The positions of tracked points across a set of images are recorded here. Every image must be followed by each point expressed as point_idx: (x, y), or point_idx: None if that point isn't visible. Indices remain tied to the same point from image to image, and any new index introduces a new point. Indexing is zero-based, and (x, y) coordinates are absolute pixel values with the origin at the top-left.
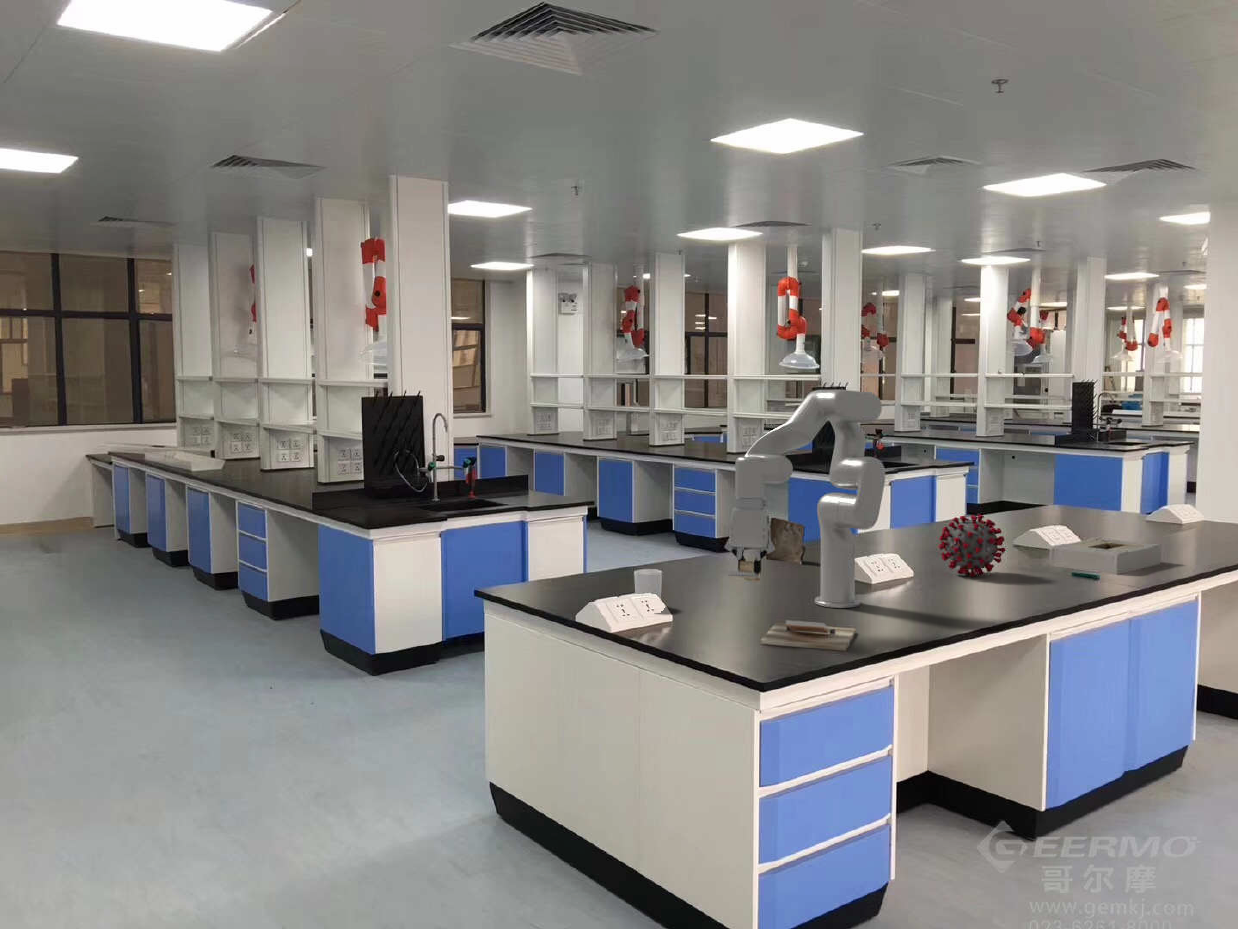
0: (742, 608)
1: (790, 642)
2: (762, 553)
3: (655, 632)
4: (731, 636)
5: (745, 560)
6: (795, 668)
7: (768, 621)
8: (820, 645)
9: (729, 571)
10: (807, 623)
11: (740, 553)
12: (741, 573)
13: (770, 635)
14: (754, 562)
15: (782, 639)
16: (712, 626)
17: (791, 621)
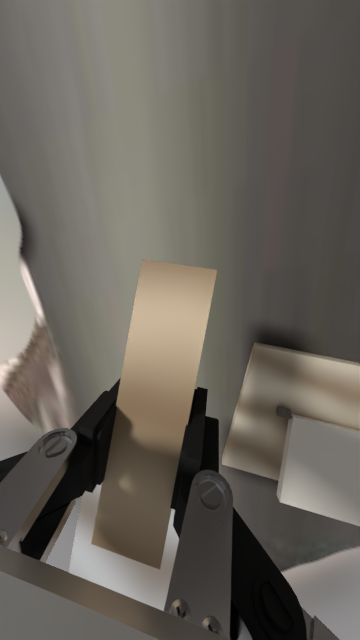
0: (159, 141)
1: (276, 479)
2: (234, 618)
3: (49, 395)
4: None
5: (106, 421)
6: (271, 557)
7: (236, 292)
8: None
9: (93, 582)
10: (329, 514)
11: (45, 544)
12: (142, 593)
13: (239, 441)
14: (175, 507)
15: (262, 465)
16: (123, 350)
17: (292, 504)
